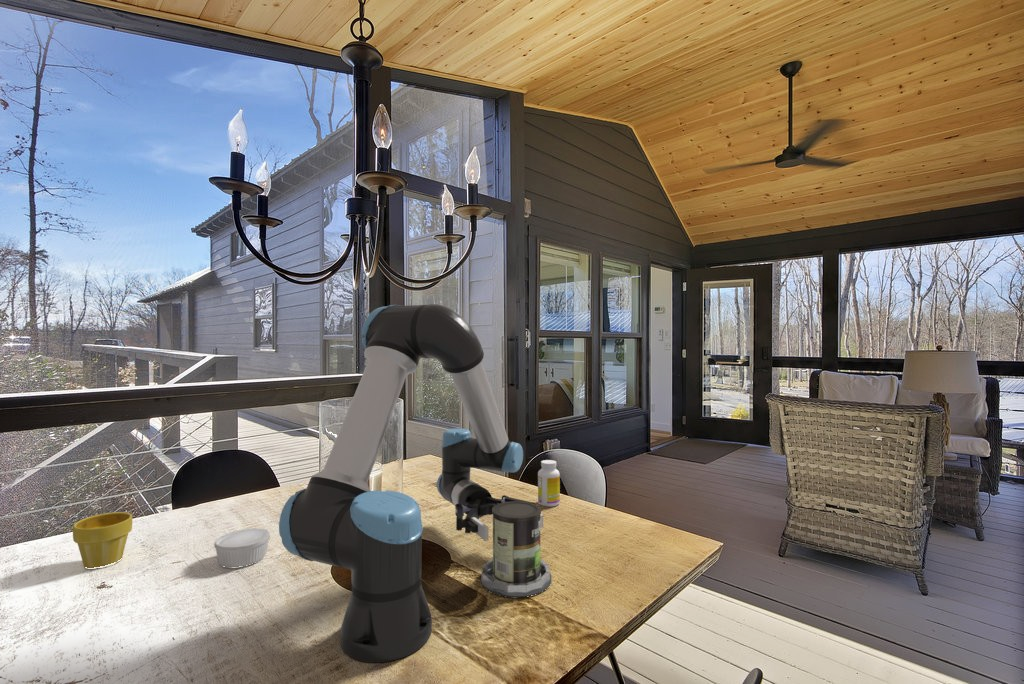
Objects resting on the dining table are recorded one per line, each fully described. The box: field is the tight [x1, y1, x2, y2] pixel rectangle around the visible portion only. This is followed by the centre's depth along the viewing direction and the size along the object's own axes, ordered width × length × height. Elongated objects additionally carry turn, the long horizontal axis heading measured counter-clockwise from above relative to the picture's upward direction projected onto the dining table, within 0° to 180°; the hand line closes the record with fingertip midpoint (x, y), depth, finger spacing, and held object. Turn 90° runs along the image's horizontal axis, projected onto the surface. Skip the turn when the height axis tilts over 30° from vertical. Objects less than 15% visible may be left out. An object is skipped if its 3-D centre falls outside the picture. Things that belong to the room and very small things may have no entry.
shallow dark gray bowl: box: [480, 557, 552, 598], centre depth 104 cm, size 15×15×2 cm
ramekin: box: [213, 527, 271, 568], centre depth 113 cm, size 11×11×5 cm
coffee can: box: [492, 500, 542, 583], centre depth 104 cm, size 10×10×14 cm
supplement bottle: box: [537, 459, 561, 508], centre depth 151 cm, size 7×7×13 cm
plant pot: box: [72, 511, 133, 568], centre depth 111 cm, size 10×10×10 cm
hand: (515, 527), depth 105 cm, fingers open, 13 cm apart
